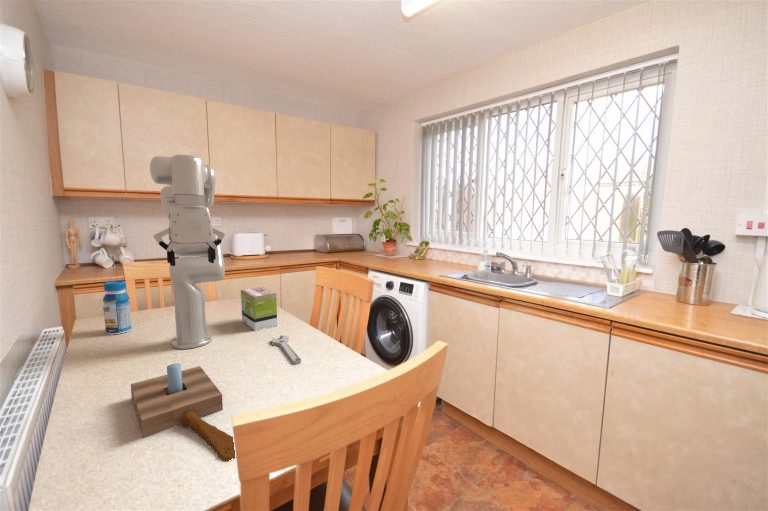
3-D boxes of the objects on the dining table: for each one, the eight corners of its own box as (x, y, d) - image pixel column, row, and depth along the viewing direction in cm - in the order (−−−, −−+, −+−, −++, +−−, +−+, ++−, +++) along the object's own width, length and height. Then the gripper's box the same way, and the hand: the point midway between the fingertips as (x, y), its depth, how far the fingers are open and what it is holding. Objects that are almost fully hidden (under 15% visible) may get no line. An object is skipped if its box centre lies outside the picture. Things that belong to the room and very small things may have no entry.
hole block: (131, 398, 87) (130, 384, 86) (200, 379, 97) (199, 365, 97) (143, 437, 72) (141, 420, 72) (222, 409, 83) (222, 394, 82)
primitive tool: (251, 448, 70) (250, 432, 69) (227, 465, 65) (226, 448, 65) (195, 420, 79) (194, 406, 79) (170, 433, 74) (169, 418, 74)
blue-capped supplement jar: (131, 332, 133) (127, 282, 131) (104, 336, 129) (99, 285, 126) (132, 326, 140) (128, 279, 138) (106, 330, 136) (102, 281, 133)
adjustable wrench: (302, 364, 109) (302, 359, 109) (282, 368, 106) (282, 363, 106) (287, 338, 131) (287, 334, 131) (269, 341, 128) (269, 336, 128)
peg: (168, 403, 85) (165, 365, 84) (181, 399, 87) (179, 362, 86) (170, 408, 83) (168, 369, 81) (184, 404, 85) (182, 366, 83)
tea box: (241, 322, 148) (239, 289, 146) (263, 317, 155) (262, 286, 153) (254, 331, 137) (253, 295, 135) (278, 326, 144) (277, 292, 142)
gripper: (153, 200, 84) (158, 268, 86) (226, 202, 96) (229, 262, 98) (148, 201, 90) (153, 265, 92) (218, 203, 101) (221, 260, 103)
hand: (192, 263), depth 95 cm, fingers open, 9 cm apart
